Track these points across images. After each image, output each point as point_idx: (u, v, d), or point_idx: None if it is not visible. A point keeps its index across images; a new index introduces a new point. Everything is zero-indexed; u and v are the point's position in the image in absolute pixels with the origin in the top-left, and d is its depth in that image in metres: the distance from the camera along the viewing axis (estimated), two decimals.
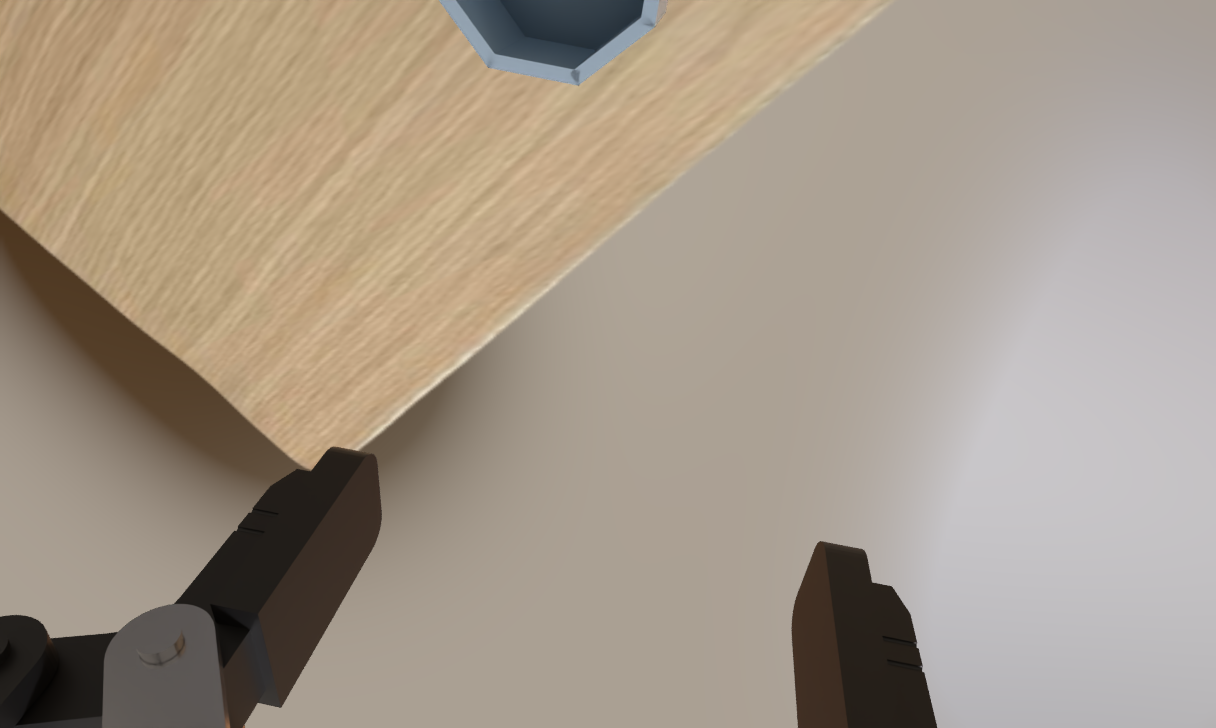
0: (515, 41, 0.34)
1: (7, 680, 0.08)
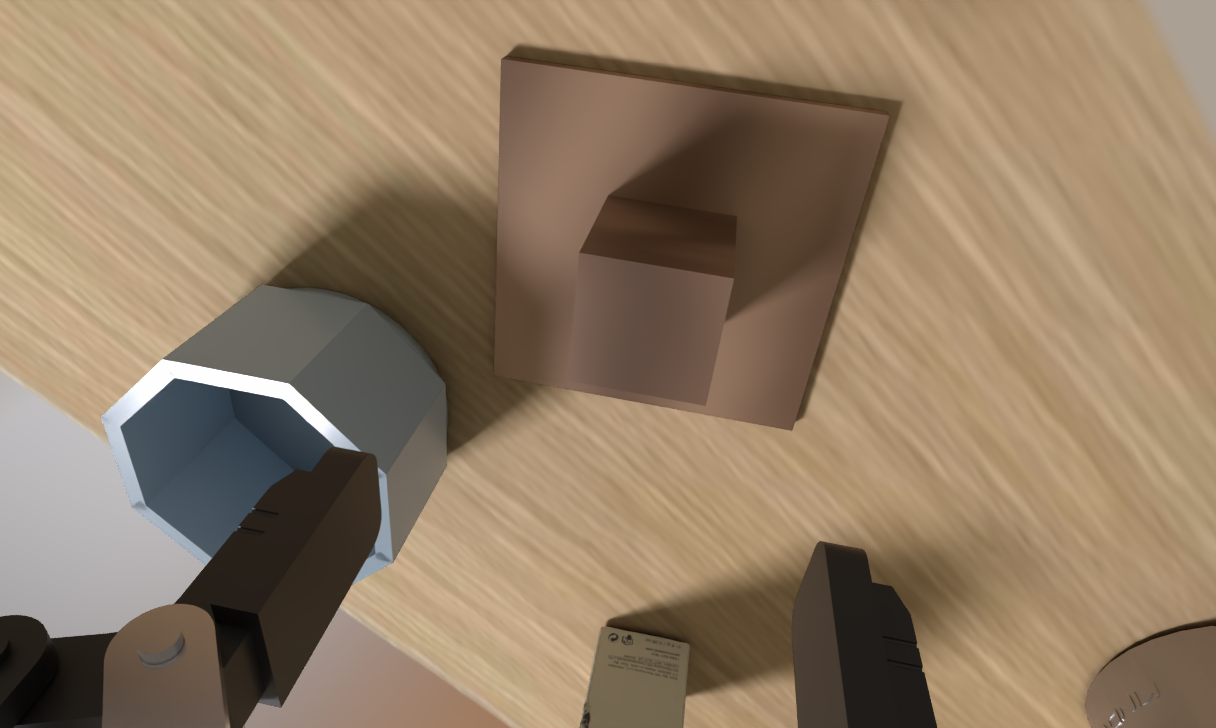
0: None
1: (7, 680, 0.08)
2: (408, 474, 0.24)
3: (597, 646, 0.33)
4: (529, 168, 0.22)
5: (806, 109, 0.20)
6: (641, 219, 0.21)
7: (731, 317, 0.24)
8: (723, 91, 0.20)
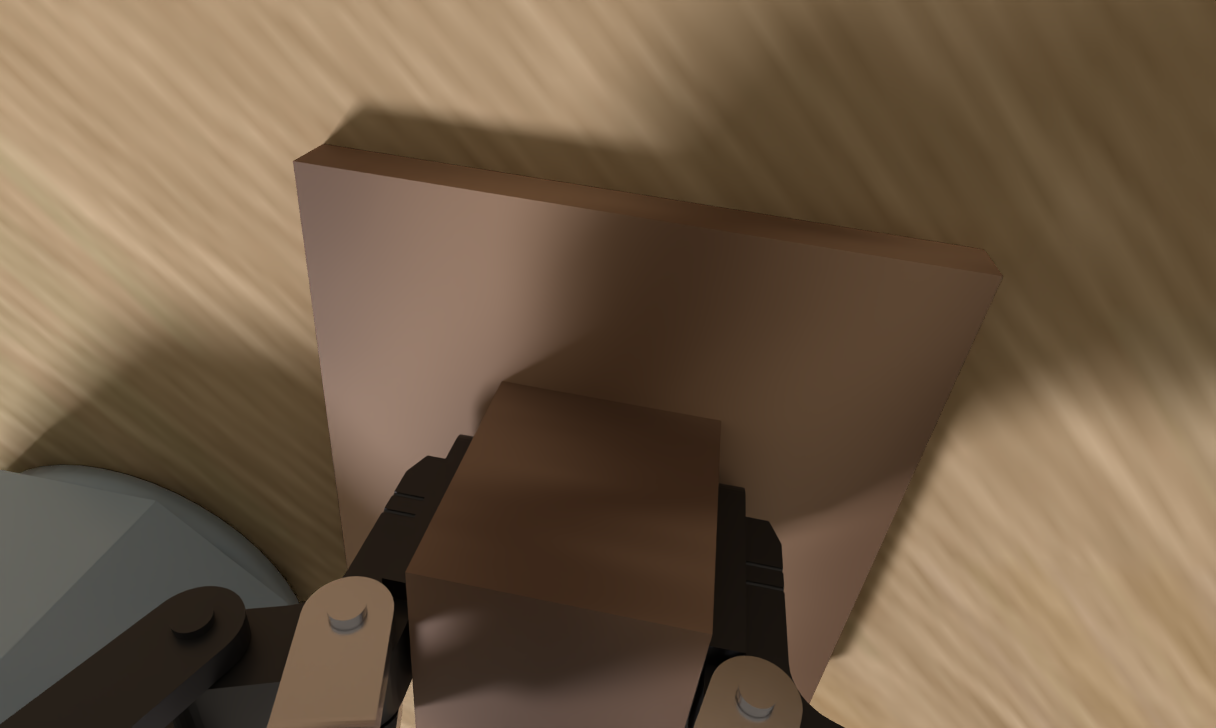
0: None
1: (218, 645, 0.09)
2: None
3: None
4: (366, 336, 0.13)
5: (847, 261, 0.11)
6: (550, 446, 0.12)
7: None
8: (694, 225, 0.11)
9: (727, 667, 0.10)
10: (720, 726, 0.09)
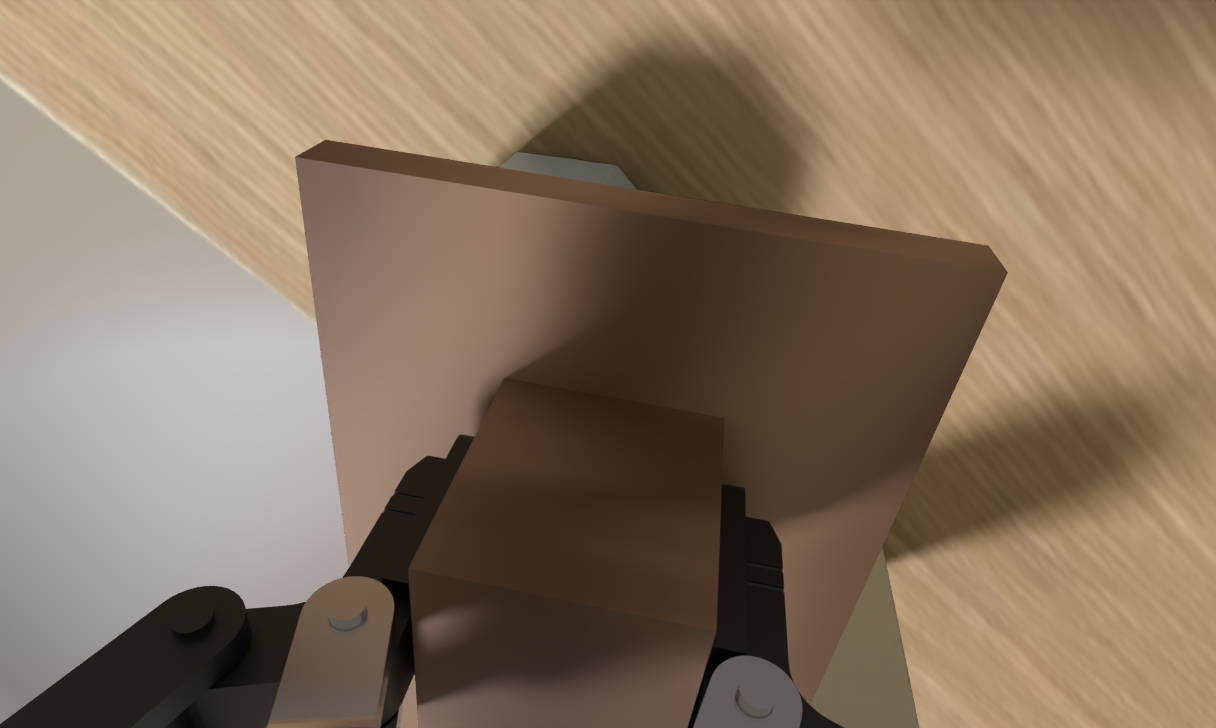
0: None
1: (218, 645, 0.09)
2: None
3: None
4: (369, 333, 0.13)
5: (850, 256, 0.11)
6: (553, 443, 0.12)
7: None
8: (698, 221, 0.11)
9: (727, 667, 0.10)
10: (720, 726, 0.09)
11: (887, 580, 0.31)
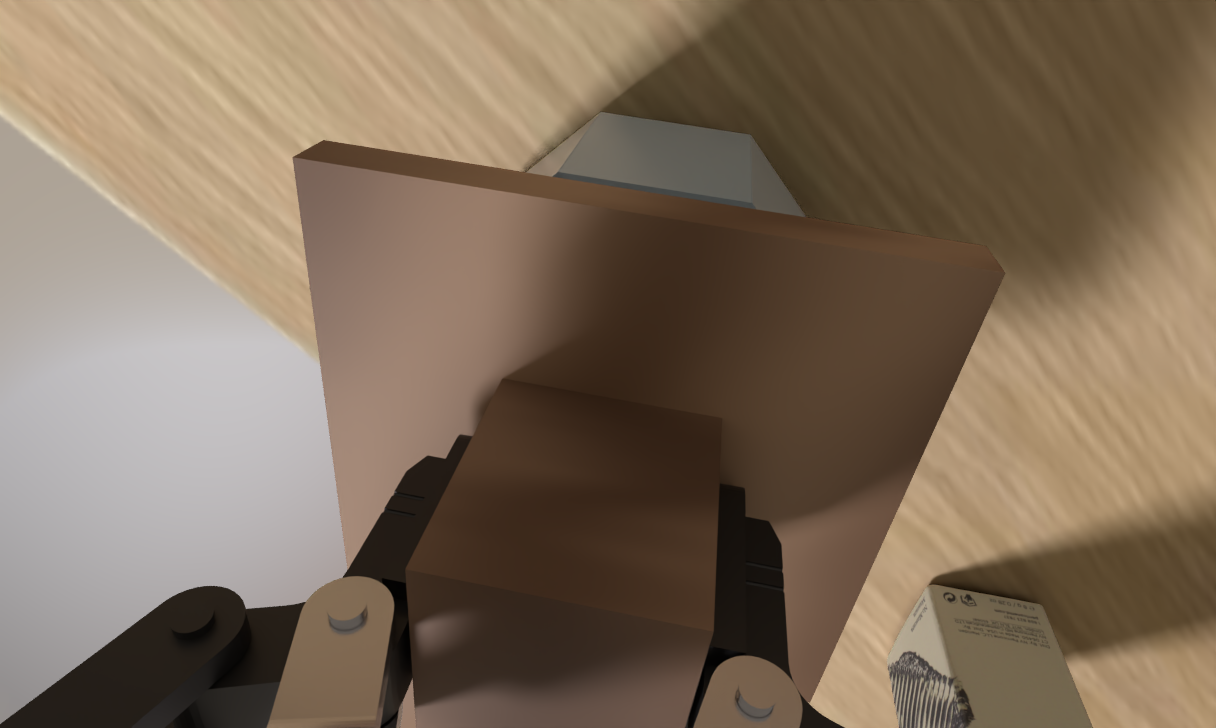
0: None
1: (218, 645, 0.09)
2: None
3: (934, 608, 0.26)
4: (366, 334, 0.13)
5: (848, 257, 0.11)
6: (550, 443, 0.12)
7: None
8: (695, 221, 0.11)
9: (727, 667, 0.10)
10: (720, 726, 0.09)
11: (1086, 715, 0.23)
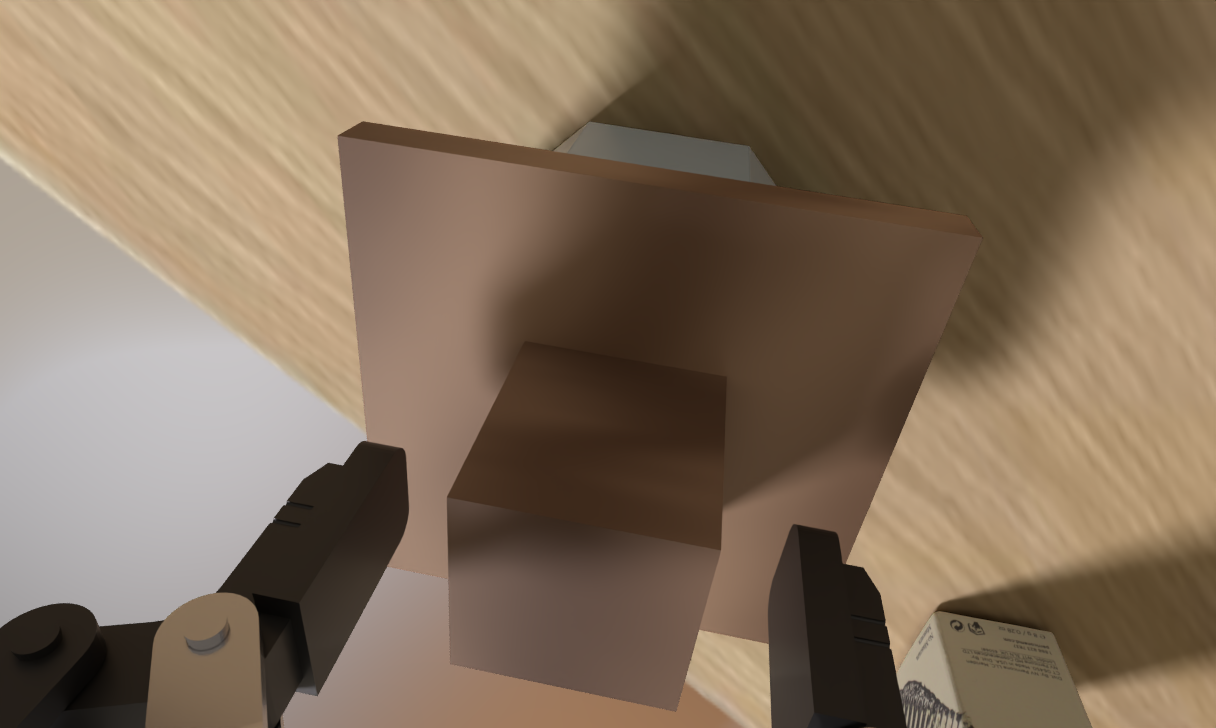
0: None
1: (60, 666, 0.09)
2: None
3: (940, 637, 0.25)
4: (400, 300, 0.14)
5: (842, 224, 0.12)
6: (571, 396, 0.13)
7: None
8: (703, 193, 0.12)
9: None
10: None
11: None
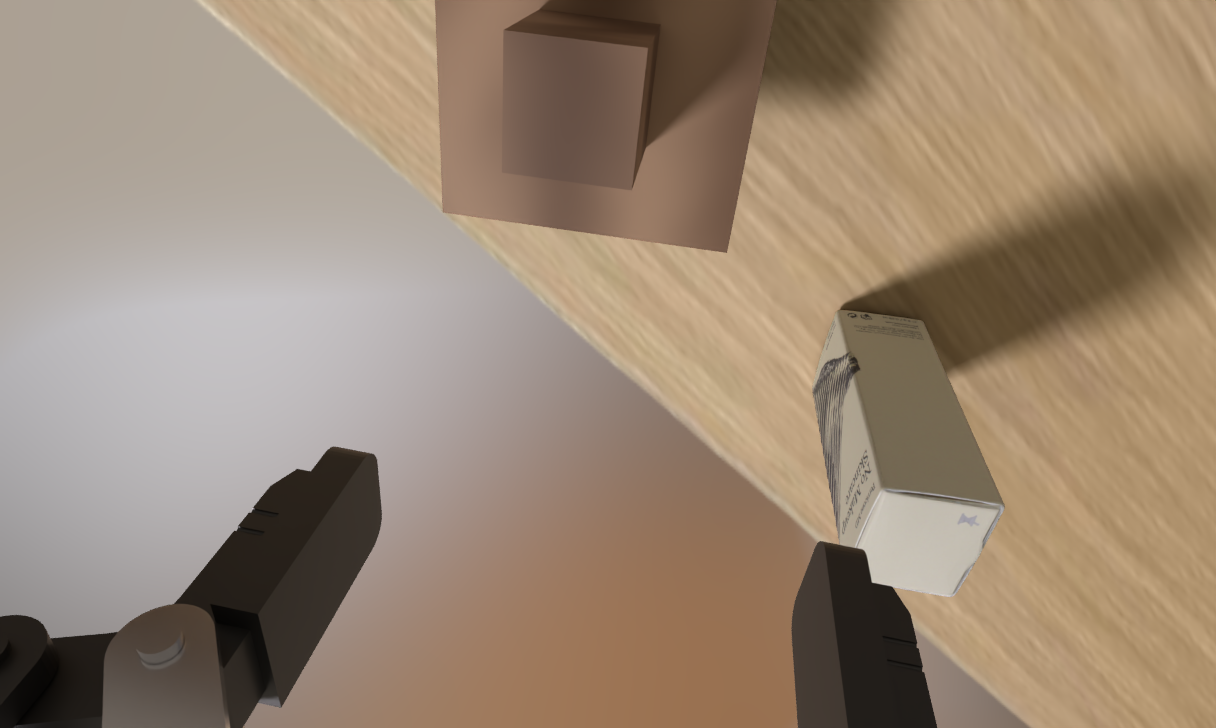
0: None
1: (7, 680, 0.08)
2: None
3: (839, 321, 0.34)
4: None
5: None
6: (568, 20, 0.22)
7: (662, 133, 0.25)
8: None
9: None
10: None
11: (943, 370, 0.31)
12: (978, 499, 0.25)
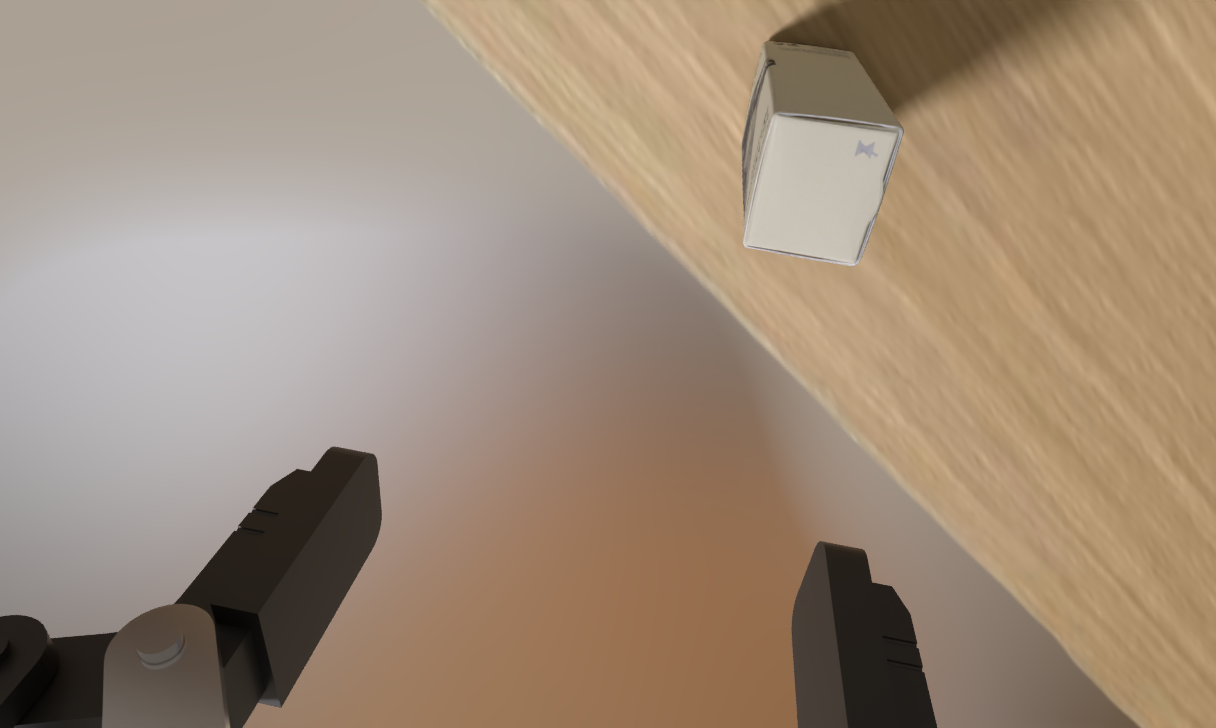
0: None
1: (7, 680, 0.08)
2: None
3: (764, 46, 0.33)
4: None
5: None
6: None
7: None
8: None
9: None
10: None
11: (864, 71, 0.30)
12: (875, 122, 0.23)
